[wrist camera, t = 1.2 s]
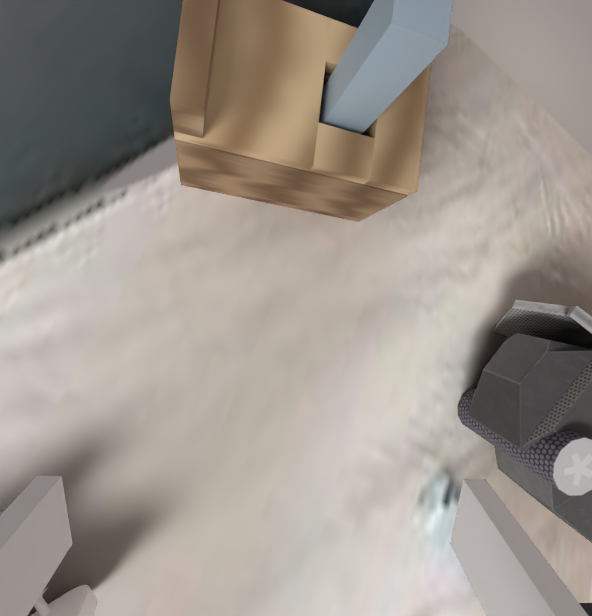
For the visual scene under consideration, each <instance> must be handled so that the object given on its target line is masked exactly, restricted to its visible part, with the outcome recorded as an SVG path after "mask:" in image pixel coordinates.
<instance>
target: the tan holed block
mask: <svg viewBox="0 0 592 616" xmlns="http://www.w3.org/2000/svg"><path fill="white" fill-rule="evenodd" d="M357 30H358V28H355V27H353V26H350V25H347V24H344V23H342V22H339V21H336V20H334V19H331V18H328V17H326V16H323V15H320V14H318V13H315V12H312V11H309V10H307V9H304V8H301V7H299V6H296V5H293V4H291V3H288V2H285V1H282V0H183V4H182V12H181V19H180V27H179V34H178V42H177V49H176V57H175V65H174V72H173V80H172V87H171V95H170V105H171V112H172V120H173V127H174V135H175V139H176V140H180V141H185V142H189V143H193V144H197V145H201V146H205V147H210V148H214V149H218V150H222V151H226V152H230V153H235V154H239V155H243V156H247V157H251V158H255V159H260V160H264V161H268V162H272V163H276V164H280V165H285V166H289V167H293V168H297V169H301V170H305V171H310V172H314V173H318V174H322V175H326V176H330V177H334V178H339V179H343V180H347V181H351V182H355V183H359V184H364V185H368V186H372V187H376V188H380V189H384V190H389V191H393V192H397V193H401V194H405V195H411V194H413V193H414V192H416V191H417V187H418V178H419V169H420V160H421V151H422V142H423V133H424V124H425V115H426V106H427V97H428V88H429V79H430V70H431V63H430V64H429V65H428V66H427V67H426V68H425V69H424V70H423V71H422V72H421V73H420V74H419V75H418V76H417V77H416V78H415V79H414V80H413V81H412V82H411V83H410V84H409V86H408V87H407V88H406V89H405V90H404V91H403V92H402V93H401V94H400V95H399V96H398V97H397V98H396V99H395V100H394V101H393V102H392V103H391V104H390V105H389V106H388V107H387V108H386V110H385V111H384V112H383V113H382V114H381V115H380V116H379V117H378V118H377V119H376V120H375V121H374V122H373V123H372V124H371V125H370V133H369V136H365V135H361V134H358V133H354V132H351V131H347V130H344V129H340V128H337V127H333V126H329V125H326V124H322V123H319V114H320V106H321V98H322V89H323V81H324V73H325V72H326V73H329V74H332V73H333V71H334V69H335V67H336V66H337V64H338V62H339V61H340V59H341V57H342V55H343V54H344V52H345V50H346V48H347V47H348V45H349V43H350V42H351V40H352V38H353V36H354V35H355V33H356V31H357Z"/></svg>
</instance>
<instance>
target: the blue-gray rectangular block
mask: <svg viewBox="0 0 592 616" xmlns="http://www.w3.org/2000/svg"><path fill="white" fill-rule="evenodd" d="M452 3H453V0H374V2H373V4H372V5H371V7H370V9H369V11H368V12H367V14H366V16H365V17H364V19H363V21H362V23H361V24H360V26H359V28H358V30H357V31H356V33H355V35H354V36H353V38H352V40H351V42H350V43H349V45H348V47H347V48H346V50H345V52H344V54H343V55H342V57H341V59H340V61H339V62H338V64H337V66H336V67H335V69H334V71H333V73H332V74H331V76H330V78H329V79H328V81H327V83H326V85H325V86H324V88H323V90H322V98H321V106H320V114H319V123H322V124H326V125H329V126H333V127H337V128H340V129H344V130H347V131H351V132H354V133H358V134H361V135H362V133H363V132H364V131H365V130H366V129H367V128H368V127H369V126H370V125H371V124H372V123H373V122H374V121H375V120H376V119H377V118H378V117H379V116H380V115H381V114H382V113H383V112H384V111H385V110H386V108H387V107H388V106H389V105H390V104H391V103H392V102H393V101H394V100H395V99H396V98H397V97H398V96H399V95H400V94H401V93H402V92H403V91H404V90H405V89H406V88H407V87H408V86H409V84H410V83H411V82H412V81H413V80H414V79H415V78H416V77H417V76H418V75H419V74H420V73H421V72H422V71H423V70H424V69H425V68H426V67H427V66H428V65H429V64H430V63H431V62H432V61H433V59H434V58H435V57H436V56H437V55H438V54H439V53H440V52H441V51H442V50H443V49H444V48H445V47H446V46H447V45H448V39H449V30H450V21H451V12H452Z"/></svg>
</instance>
